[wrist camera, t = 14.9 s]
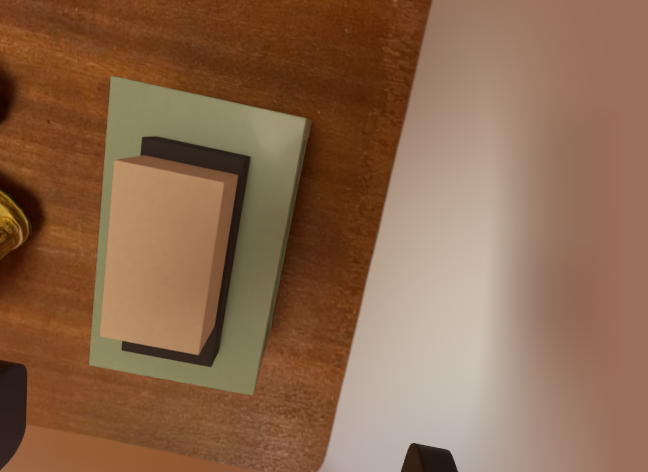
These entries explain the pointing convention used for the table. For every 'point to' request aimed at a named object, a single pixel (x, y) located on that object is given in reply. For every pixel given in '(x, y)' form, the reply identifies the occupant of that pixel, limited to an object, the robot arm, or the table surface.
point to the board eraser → (172, 249)
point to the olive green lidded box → (254, 229)
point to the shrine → (12, 224)
